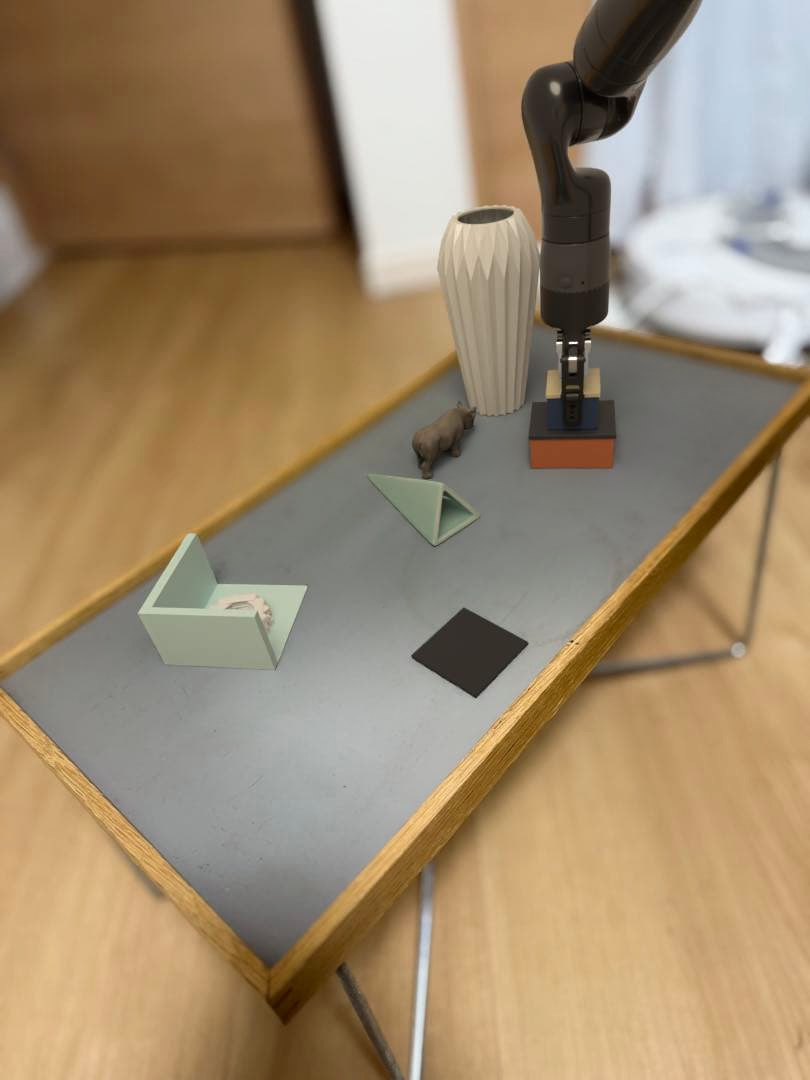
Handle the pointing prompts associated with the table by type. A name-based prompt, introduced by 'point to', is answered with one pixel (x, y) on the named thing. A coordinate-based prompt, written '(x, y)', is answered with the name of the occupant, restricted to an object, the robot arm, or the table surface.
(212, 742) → the table surface
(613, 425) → the bottom container
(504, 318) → the vase
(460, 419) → the rhino figurine
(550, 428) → the top container
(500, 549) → the table surface
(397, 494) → the planter
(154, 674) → the table surface
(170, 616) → the right angle wall
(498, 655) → the mat
